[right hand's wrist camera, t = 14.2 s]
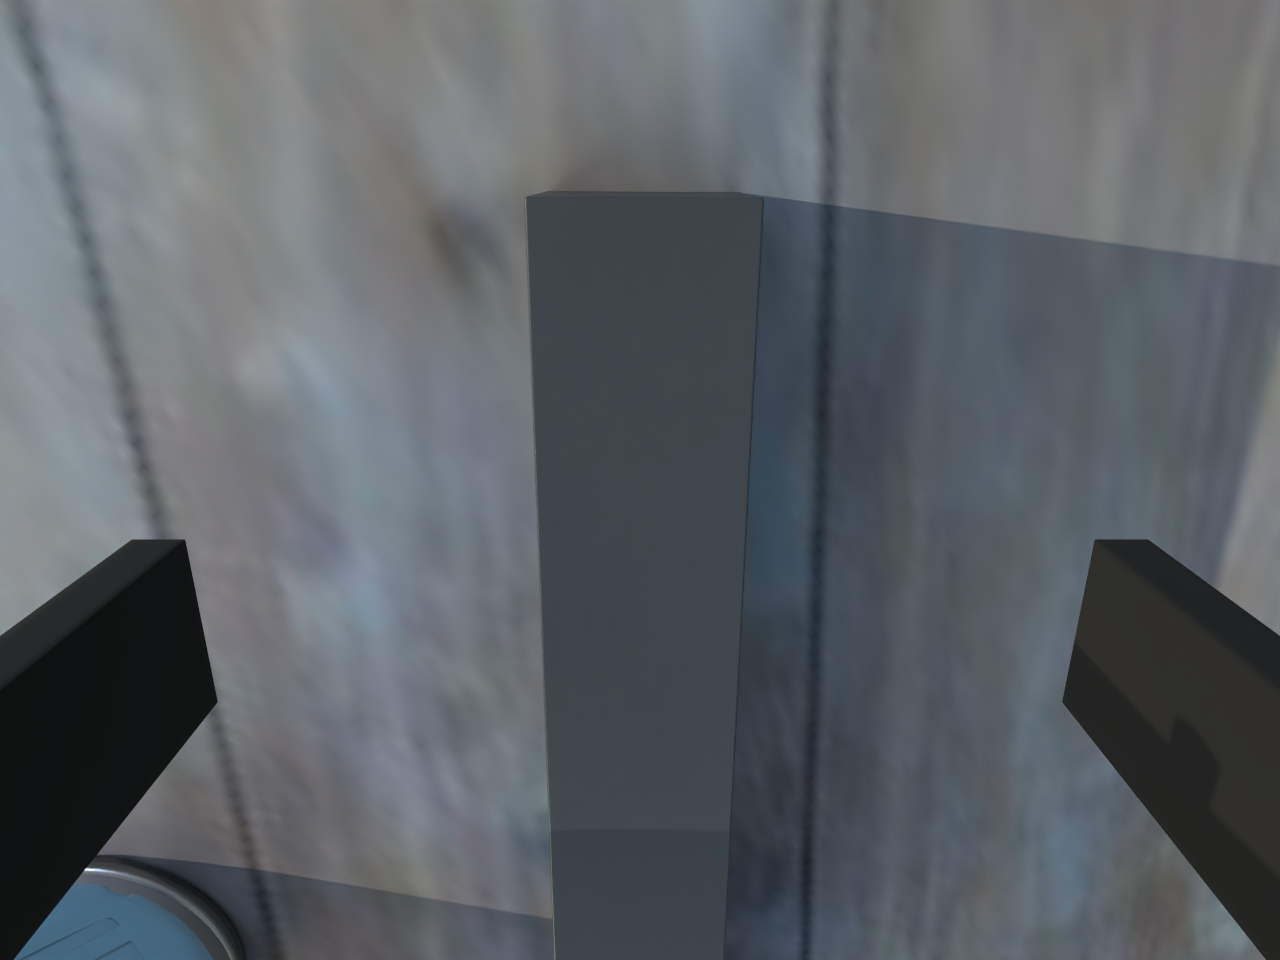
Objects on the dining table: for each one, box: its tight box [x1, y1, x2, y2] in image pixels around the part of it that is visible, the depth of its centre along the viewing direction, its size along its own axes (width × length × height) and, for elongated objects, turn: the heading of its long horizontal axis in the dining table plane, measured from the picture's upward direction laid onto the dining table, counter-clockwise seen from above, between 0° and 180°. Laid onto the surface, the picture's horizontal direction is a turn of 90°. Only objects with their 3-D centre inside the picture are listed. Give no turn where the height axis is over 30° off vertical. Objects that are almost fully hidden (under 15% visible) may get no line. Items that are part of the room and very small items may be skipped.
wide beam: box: [525, 191, 764, 960], centre depth 43 cm, size 55×8×7 cm, turn 0°
